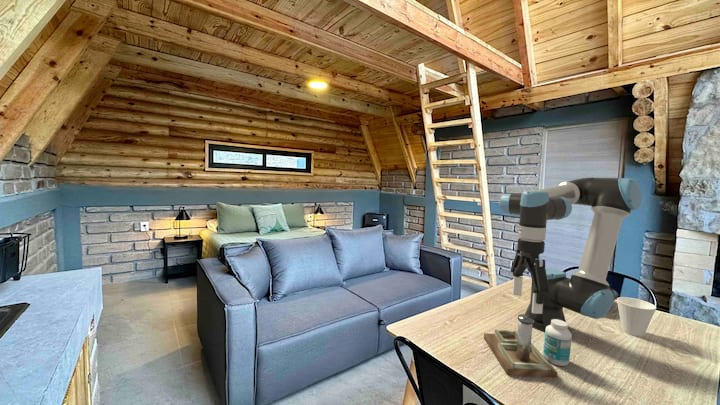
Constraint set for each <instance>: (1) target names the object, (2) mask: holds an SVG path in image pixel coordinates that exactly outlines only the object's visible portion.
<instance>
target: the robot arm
mask: <svg viewBox="0 0 720 405" xmlns="http://www.w3.org/2000/svg"><path fill="white" fill-rule="evenodd" d="M498 203H499V209H500V211H501V212H503V213H504V214H505V213H506V214H509V215H516V216H517V215H518V216H519V222H518V228H517V231H518V239H517V245H516V247H517V248H516V251H515V257H514V259H513V262H512V264H511V268H510V272H511V273H512V276H513V281H512V292H511V293H512V294H511V295H512V296H520V297H521V296H522V292H523V277H524V272H525V271H526V270H527V272H529V273H530V276H531V287H530V289H531V290H530V302H529V304H528V307H527V308H526V311H525V313H524V314H525V315H529V316H531V317H533V318H534V323H533V325H532V328H534V329H537V330H539V331H542V332H545V330H546V327H547V326H549V325H551V320H552V319H558V320H562V321H564V322H566V323H567V321H566V317H565V314H564V311H563V310H564V309H567V310H569V311H572V312H575V313H577V314H580V315H581V316H584V317H588V318H591V319H594V320H598V319H602V318H603V317H604V316H606V315H607V314H608V313H609V311H610V310H611V308H612V306H613V304H614V302H613V300H614V299H613V297H614V295H613V293H612V292H611V291H610V290H608V289H609V288H610V284H609V282H608V281H607V277H608V272H609V269H610V266H611V262H612V259H613V254H614V252H615V247H616V244H617V240H618V238H619V234H620V229H621V227H622V224H623V220H624V219H625V218H628V217H629V216H630V215H631V211H637V210H638V209H639V208H640V206H641V203H642V190H641V186H640V184H639V182H638V181H637V180H635V179H633V178H624V177H582V178H577V179H573V180H569V181H564V182H561V183H559V184H558V185H555V186H551V187H545V188H540V189H537V190H523V192H519V193H504V194H503V195H502V196H500V198H499V202H498ZM572 205H582V206H589V207H591V208H590V209H591V211H592V212H593V213H594V214H593V218H592V220H591V221H592V222H591V225H590V228H589V230H588V231H589V232H588V235H587V239H586V242H585V245H584V248H583V251H582V256H581V259H580V262H579V266H578V270H577V271H576V272H573V273H572V274H571V275H570V278H569V277H567V273H566V272H565V271H563V270H559V269H550V268H548V269H547V268H546V259H540V255H541V254H544V252H545V247H546V246H545V245H546V243H545V240H546V235H547V234H546V233H547V222H548V221H550V220H551V221H552V220H555V221H557V220H562V219H565V218H569V216H570V215H571V213H572V211H573V206H572ZM614 301H615V300H614Z"/></svg>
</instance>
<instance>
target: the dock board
mask: <svg viewBox="0 0 720 405" xmlns="http://www.w3.org/2000/svg"><path fill="white" fill-rule="evenodd" d="M517 335H518V331H517V330H511V329H494V333H486V332H485V333H483V339H484V341H485V342H486V345H487V346H488V347H489V349H490V351H491V353H492V354H493V355H494V357H495V358H496V359H497V361H498V364H499V365H500V366H501V368H502V369H503V371H504V373H505V374H506V375H507V376H519V377H532V378H533V377H536V378H551V379H558V370H556V369H555V368H554V366H553V365H552V363H550V362H548V361H547V360H546V359H545V358H544V356H543V354H542V353H541V352H540V351H539V350H538V349H537V348H536V346H535V345H534V344H533V343H532V342H531V349H530V360H529V361H528V362H524V361H521V360H519V359H517V358H516V348H517Z"/></svg>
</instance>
